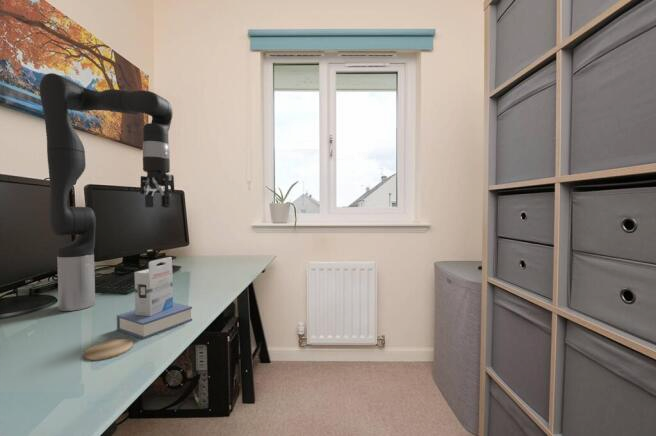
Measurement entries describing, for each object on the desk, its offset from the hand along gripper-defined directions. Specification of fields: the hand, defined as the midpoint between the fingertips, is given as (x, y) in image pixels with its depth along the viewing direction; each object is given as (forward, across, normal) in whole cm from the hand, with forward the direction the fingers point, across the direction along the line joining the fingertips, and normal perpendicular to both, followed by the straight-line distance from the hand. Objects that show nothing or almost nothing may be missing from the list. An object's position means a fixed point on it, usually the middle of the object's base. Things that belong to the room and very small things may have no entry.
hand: (157, 207), depth 95 cm
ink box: (+29, +13, -9) cm, 33 cm away
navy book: (+33, +13, -9) cm, 37 cm away
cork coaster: (+33, +18, -23) cm, 44 cm away
